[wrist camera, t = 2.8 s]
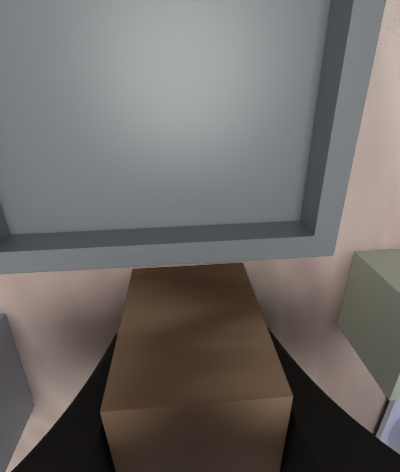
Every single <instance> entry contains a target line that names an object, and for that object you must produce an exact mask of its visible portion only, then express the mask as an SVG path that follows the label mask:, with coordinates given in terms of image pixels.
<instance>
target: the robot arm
mask: <svg viewBox="0 0 400 472" xmlns="http://www.w3.org/2000/svg"><path fill="white" fill-rule="evenodd" d="M266 326H267V325H266ZM267 329H268V331H269V334H270V336H271V339H272V342H273V344H274V347H275V350H276V352H277V355H278V358H279V360H280V363H281V365H282V368H283V371H284V373H285V376H286V379H287V381H288V384H289V387H290V389H291V392H292V394H293V400H292V406H291V411H290V417H289V422H288V428H287V434H286V439H285V445H284V450H283V456H282V461H281V467H280V472H400V400H390V402H389V404H388V407H387V409H386V412H385V414H384V417H383V419H382V422H381V424H380V427H379V429H378V432H377V434H376V436H374V435H373V434H372V433H371V432H369V431H368V430H367V429H365V428H364V427H363V426H362V425H360V424H359V423H358V422H357V421H355V420H354V419H353V418H352V417H351V416H350V415H348V414H347V413H346V412H345V411H344V410H343V409H341V408H340V407H339V406H338V405H337V404H336V403H335V402H334V401H333V400H332V399H331V398H329V397H328V396H327V395H326V394H325V393H324V392H323V391H322V390H321V389H320V388H319V387H318V386H317V385H316V384H315V383H314V382H313V381H312V380H311V379H310V377H309V376H308V375H307V374H306V373H305V372H304V371H303V370H302V369H301V368H300V367H299V365H298V364H297V363H296V362H295V361H294V360H293V359H292V357H291V356H290V355H289V354H288V353H287V351H286V350H285V349H284V348H283V346H282V345H281V344H280V343H279V341H278V340H277V339H276V338H275V336H274V335H273V334H272V332H271V331H270V330H269V328H268V327H267ZM117 336H118V333H117V334H115V336H114V338H113V340H112V342H111V344H110V345H109V347H108V349H107V351H106V352H105V354H104V356H103V357H102V359H101V361H100V362H99V364H98V365H97V367H96V368H95V370H94V372H93V373H92V375H91V376H90V378H89V379H88V381H87V382H86V384H85V385H84V386H83V388H82V389H81V391H80V392H79V393H78V395H77V396H76V398H75V399H74V400H73V402H72V403H71V404H70V406H69V407H68V408H67V410H66V411H65V412H64V413H63V415H62V416H61V417H60V418H59V420H58V421H57V422H56V423H55V424H54V426H53V427H52V428H51V429H50V430H49V432H48V433H47V434H46V435H45V436H44V437H43V438H42V439H41V441H40V442H39V443H38V444H37V445H36V446H35V447H34V448H33V450H32V451H31V452H30V453H29V454H28V455H27V456H26V457H25V458H24V459H23V460H22V461H21V462H20V463H19V464H18V465H17V466H16V467H15V468H14V469H13V470H12V471H11V472H116V471H115V467H114V463H113V459H112V456H111V452H110V448H109V444H108V441H107V437H106V433H105V429H104V426H103V422H102V418H101V414H100V410H101V405H102V401H103V397H104V392H105V388H106V384H107V379H108V375H109V371H110V366H111V362H112V358H113V354H114V349H115V345H116V341H117Z"/></svg>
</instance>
